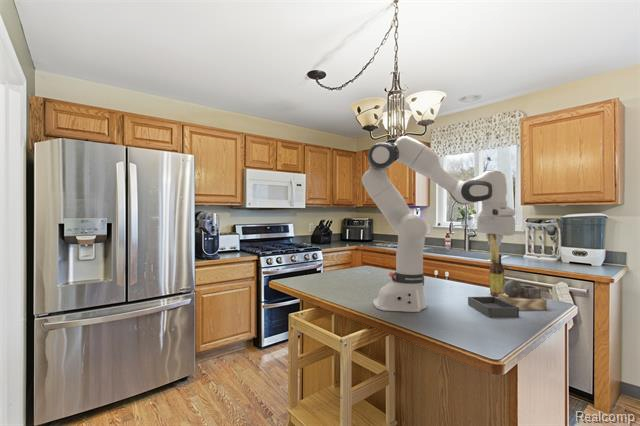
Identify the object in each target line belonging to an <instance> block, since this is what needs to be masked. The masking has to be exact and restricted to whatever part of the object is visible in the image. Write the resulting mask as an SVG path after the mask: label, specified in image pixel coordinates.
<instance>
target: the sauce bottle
mask: <svg viewBox="0 0 640 426" xmlns="http://www.w3.org/2000/svg"><path fill="white" fill-rule="evenodd" d="M505 278H506V277H505V268H504V267H503V262H502V254H501V253H499V263H491V265H490V266H489V291H490V295H492V296H494V297H498V294H505V293H504V291H503V285H504V283H505V282H506V279H505Z"/></svg>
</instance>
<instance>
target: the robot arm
mask: <svg viewBox="0 0 640 426" xmlns="http://www.w3.org/2000/svg"><path fill="white" fill-rule="evenodd" d="M367 161H368V164H369V168H368V169H367V170H366V171H365V172H364V173H363V175H362V177H361V183H362V186H363V188H365V189H364V190H365V191H366V193H367V194H368V196H369V197H370V199H371V200H372V202H373V203H375V205H376V207H377V208H378V209H379V210H380V212H381V214H382V215H383V216H384V218H385V219H386V221H387V223H388V224H389V225H390V227H391V228H392V229H393V232H395V234H396V236H397V244H396V245H397V247H396V253H395V256H396V257H395V258H396V259H395V260H396V262H395V265H396V266H395V267H396V268H395V272H392V271H389V272H388V276H389V278H390V277H391V281H389V282H388V283H386V284H385V285H384V286H382V287H381V288H380V289H379V290H378V291H379V292H378V297H377V298H375V299H373V301H372V304H373V306H374V307H375V308H376V309H378V310H380V311H384V312H385V311H386V312H387V311H388V312H407V313H408V312H410V313H420V312H421V311H422V310H424V309H426V308H427V307H428V305H427V301H426V296H425V289H424V288H425V287H424V286H425V273H424V263H423V262H424V248H425V242H426V234H427V224H426V222H425V221H424V219H423V218H422V217H420V216H419V215H416V214H415V215H414V213H413V212H412V210H411V208H410V207H409V205H408V204H407V202H406V200H405V198H404V197H403V195H402V194H401V192H399V190H398V189H397V188H396V186H395V185H394V184H393V182H392V181H391V179H390V178H389V177H388V174H387V171H388V169H389V168H390V167H391V166H392V165H393V163H401V164H403V165H405V166H406V167H408V168H410V169H411V170H412V171H414V172H416V173H418V174H420V175H422V176H423V177H425V178H428V179H430V180H431V181H433V182H435V183H436V184H437V185H439V186H440V187H441V188H443V189H444V190H445V191H446V192H448V194H449V195H450V196H451V197H452V199H453V201H454V202H456V203H457V204H458V205H459V204H460V205H469V204H475V203H479V202H481V211H480V212H479V214H478V216H477V222H476V230H477V232H478V233H483V234H485V236H486V239H487V244H488V245H490V234H496V237H497V238H496V241H494V243H495V244H494V245H496V246H499V247H500V246H502V240H503V238H504V236H514V235H515V232H516V218H515V216H516V210H515V209H513V208H511V207H510V206H508V202H507V199H506V196H507V195H508V194H507V192H508V188H507V187H508V186H507V185H508V184H507V178H506V175H505V174H504V172H501V171H499V170H486V171H484V172H483V173H481V174H480V175H478V176H476V177H473V178H471V179H467V180H460V179H458V178H456V177H455V176H453V175H452V174H450V173H449V172H447V171H446V170H445V169H444V168H443V167H442V165H441V164H440V158H439V155H438V154H437V153H436V152H435V151H434V149H432V148H430V147H429V146H427V145H425V144H424V143H423V142H421V141H419V140H417V139H415V138H413V137H410V136H408V135H402V136H399V137H398V138H397V139H396V140H395V142H377V143H375V144H373V145H372V146H370V148H369V150H368V152H367Z"/></svg>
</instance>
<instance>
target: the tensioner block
mask: <svg viewBox="0 0 640 426" xmlns="http://www.w3.org/2000/svg"><path fill="white" fill-rule="evenodd" d="M503 291H504V294H498V296H497V298H499V299H501V300H503V301H505V302H508V303H510V304H512V305H514V306H516V307H518V308H519V311H533V310H535V311H536V310H541V311H543V310H547V307H548V306H547V305H548V304H547V301H548V300H547V299H546V298H543V297H542V289H541V288H540V287H537V286H534V285H529V284H527V285H526V284H521V283H520V282H519V281H517V280H514V279H508V280H505V283H504V285H503Z"/></svg>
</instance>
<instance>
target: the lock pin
mask: <svg viewBox="0 0 640 426" xmlns="http://www.w3.org/2000/svg"><path fill="white" fill-rule="evenodd" d="M496 238H497V237H496V234H490V244H489V248H490V249H489V250H490V252H489V259H490V260H489V263H491V264H492V263H499V254H500V252H499V251H500V248H499V247H500V246H496V245H494V244H495V243H494V241H496Z"/></svg>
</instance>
